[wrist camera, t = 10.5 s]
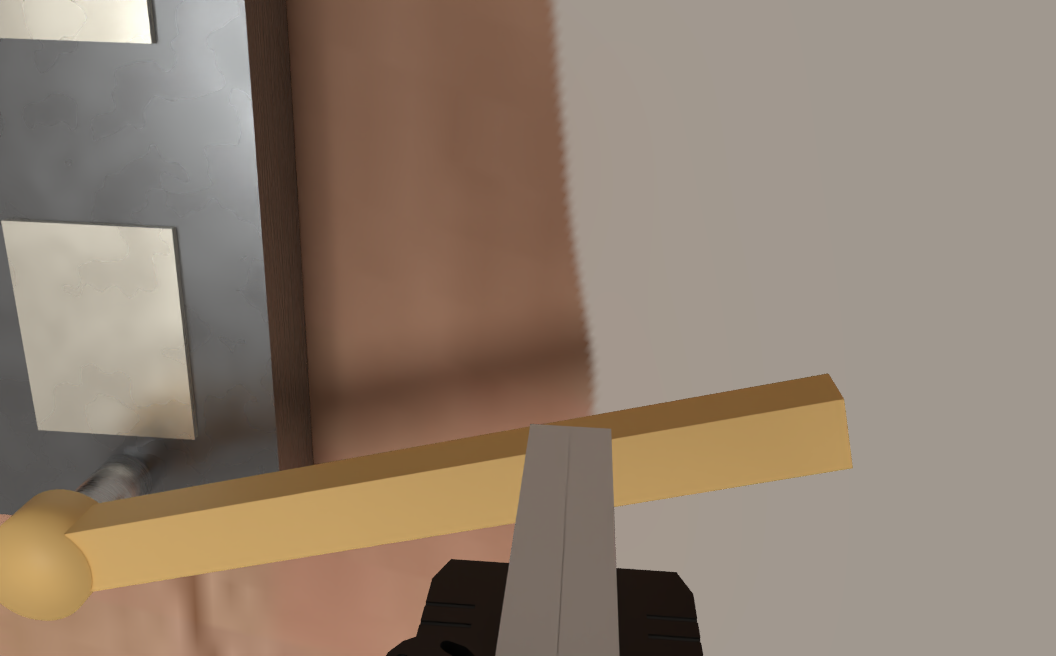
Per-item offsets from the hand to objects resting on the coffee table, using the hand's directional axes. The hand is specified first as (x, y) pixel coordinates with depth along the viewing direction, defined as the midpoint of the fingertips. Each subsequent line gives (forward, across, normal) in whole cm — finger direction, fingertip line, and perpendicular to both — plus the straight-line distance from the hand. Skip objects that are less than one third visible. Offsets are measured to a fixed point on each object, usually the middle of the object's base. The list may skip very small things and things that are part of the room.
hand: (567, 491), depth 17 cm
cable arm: (+10, -5, -6) cm, 13 cm away
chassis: (+18, -17, +4) cm, 25 cm away
